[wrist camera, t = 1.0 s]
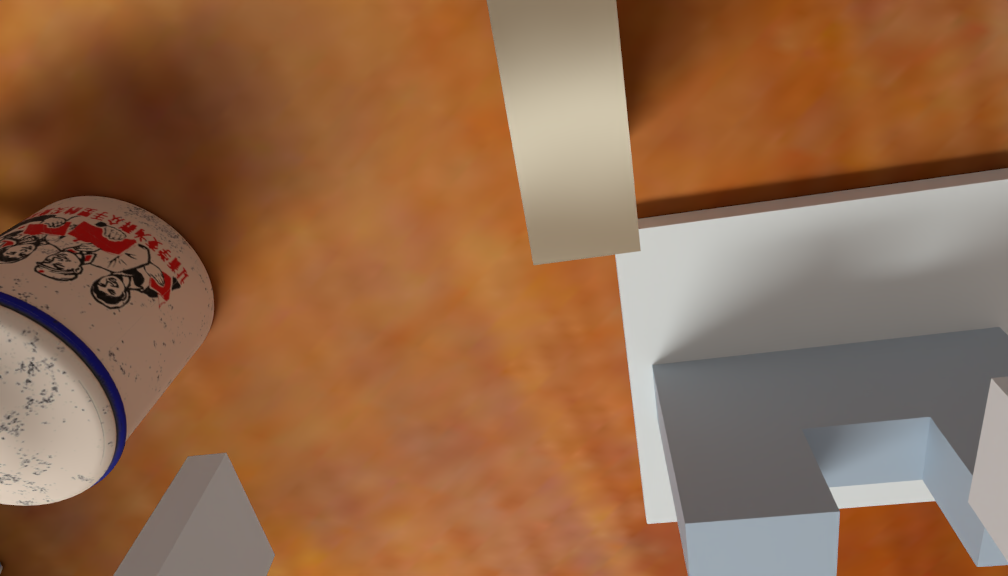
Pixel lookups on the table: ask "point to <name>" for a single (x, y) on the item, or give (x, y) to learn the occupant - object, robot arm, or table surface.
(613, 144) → the beige arch-shaped block
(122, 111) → the table surface
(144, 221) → the teacup with lid
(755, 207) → the slotted stand
